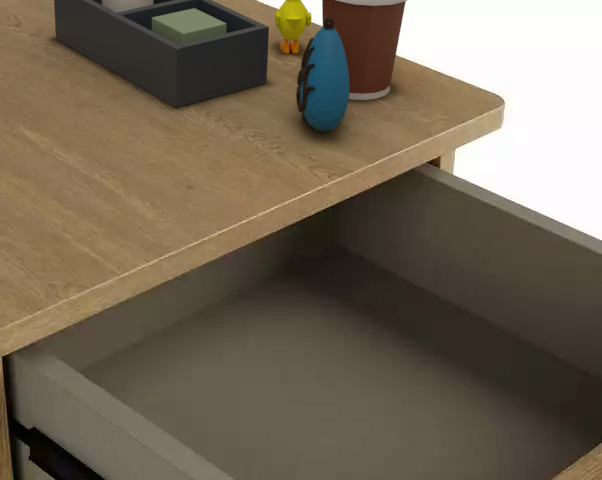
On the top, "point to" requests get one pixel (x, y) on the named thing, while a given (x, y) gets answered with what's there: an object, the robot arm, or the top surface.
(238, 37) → the dark grey divided tray
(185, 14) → the sage block
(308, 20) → the toy figure
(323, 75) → the ornament
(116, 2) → the white cylinder
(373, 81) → the coffee cup
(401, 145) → the top surface
